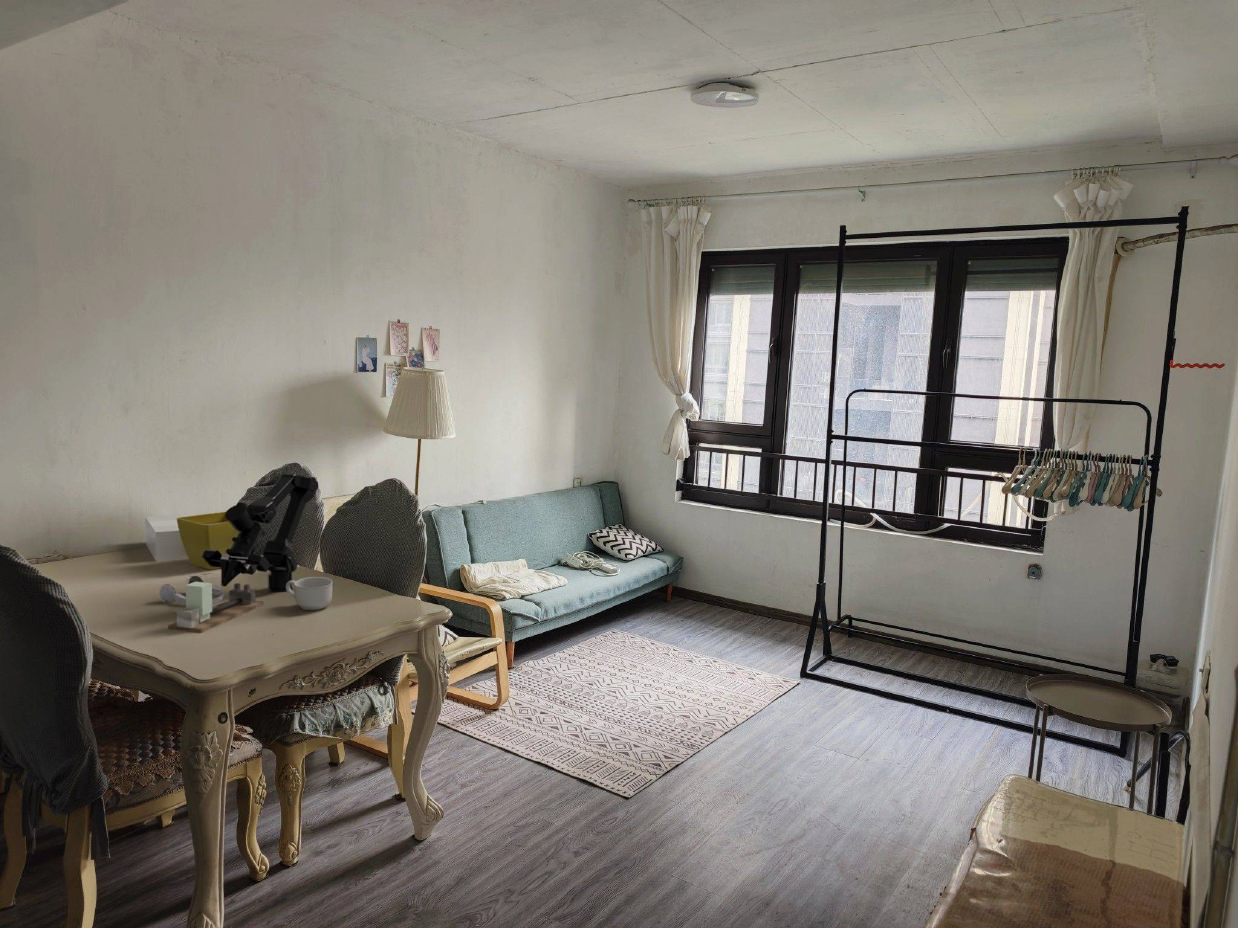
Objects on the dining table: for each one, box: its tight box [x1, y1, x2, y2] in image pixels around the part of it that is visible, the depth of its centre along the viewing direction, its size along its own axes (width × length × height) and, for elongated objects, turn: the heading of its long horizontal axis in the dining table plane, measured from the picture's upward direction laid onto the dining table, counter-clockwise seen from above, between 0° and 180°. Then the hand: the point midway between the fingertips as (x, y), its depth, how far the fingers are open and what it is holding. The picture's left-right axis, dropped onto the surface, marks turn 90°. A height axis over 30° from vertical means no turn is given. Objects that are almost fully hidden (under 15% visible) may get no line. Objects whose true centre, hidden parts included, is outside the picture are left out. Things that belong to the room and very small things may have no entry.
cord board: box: [167, 582, 264, 634], centre depth 241 cm, size 28×10×6 cm, turn 170°
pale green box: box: [185, 581, 213, 622], centre depth 233 cm, size 4×5×10 cm
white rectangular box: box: [144, 514, 189, 562], centre depth 315 cm, size 32×11×11 cm, turn 35°
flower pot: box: [177, 511, 239, 570], centre depth 298 cm, size 19×19×17 cm
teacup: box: [286, 576, 333, 611], centre depth 254 cm, size 14×11×8 cm
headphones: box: [159, 575, 224, 605], centre depth 258 cm, size 17×6×20 cm
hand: (223, 585), depth 242 cm, fingers closed
